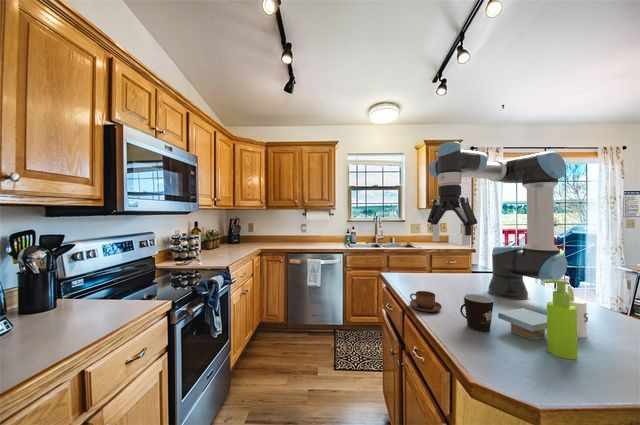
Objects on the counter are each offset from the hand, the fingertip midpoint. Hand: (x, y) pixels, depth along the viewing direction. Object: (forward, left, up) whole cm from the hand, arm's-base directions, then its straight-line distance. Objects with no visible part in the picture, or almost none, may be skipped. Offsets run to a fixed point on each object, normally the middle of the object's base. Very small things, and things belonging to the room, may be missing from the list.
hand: (449, 243), depth 90 cm
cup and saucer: (+1, -12, -28) cm, 31 cm away
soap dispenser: (-11, +27, -28) cm, 40 cm away
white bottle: (-29, +21, -28) cm, 45 cm away
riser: (-14, +17, -28) cm, 35 cm away
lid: (-14, +17, -24) cm, 32 cm away
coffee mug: (-2, +8, -28) cm, 29 cm away
